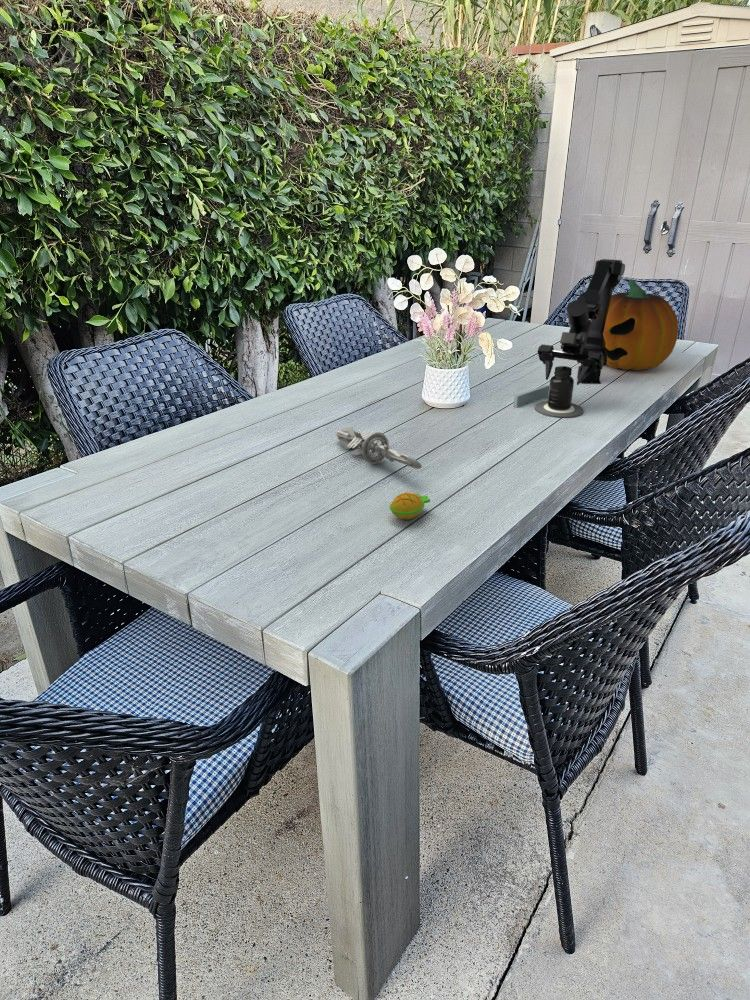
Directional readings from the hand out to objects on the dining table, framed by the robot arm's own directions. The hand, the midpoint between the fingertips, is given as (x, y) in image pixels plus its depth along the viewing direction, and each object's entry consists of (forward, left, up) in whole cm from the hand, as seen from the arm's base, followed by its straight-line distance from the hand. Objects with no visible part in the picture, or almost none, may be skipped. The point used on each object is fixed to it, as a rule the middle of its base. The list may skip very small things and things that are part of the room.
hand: (561, 381), depth 199 cm
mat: (0, -1, -9) cm, 9 cm away
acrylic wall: (+7, -8, -9) cm, 14 cm away
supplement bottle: (0, -1, -8) cm, 8 cm away
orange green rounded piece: (+45, +68, -9) cm, 82 cm away
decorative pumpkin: (-35, -51, -9) cm, 62 cm away
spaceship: (+53, +42, -9) cm, 68 cm away
